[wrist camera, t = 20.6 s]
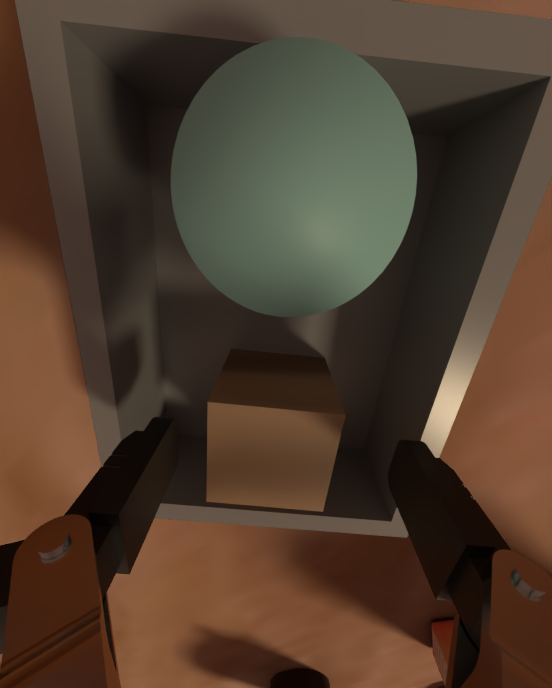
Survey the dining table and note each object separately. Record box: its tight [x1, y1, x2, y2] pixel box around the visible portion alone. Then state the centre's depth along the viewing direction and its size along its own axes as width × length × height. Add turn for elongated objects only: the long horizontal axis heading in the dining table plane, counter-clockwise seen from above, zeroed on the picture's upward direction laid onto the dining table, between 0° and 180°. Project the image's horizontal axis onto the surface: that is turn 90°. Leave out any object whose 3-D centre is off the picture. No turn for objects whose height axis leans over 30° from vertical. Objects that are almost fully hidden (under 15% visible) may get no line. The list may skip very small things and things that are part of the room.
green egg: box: [171, 37, 417, 317], centre depth 9 cm, size 5×5×7 cm
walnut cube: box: [206, 349, 346, 512], centre depth 13 cm, size 5×5×5 cm
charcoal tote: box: [15, 0, 552, 538], centre depth 12 cm, size 18×14×6 cm
